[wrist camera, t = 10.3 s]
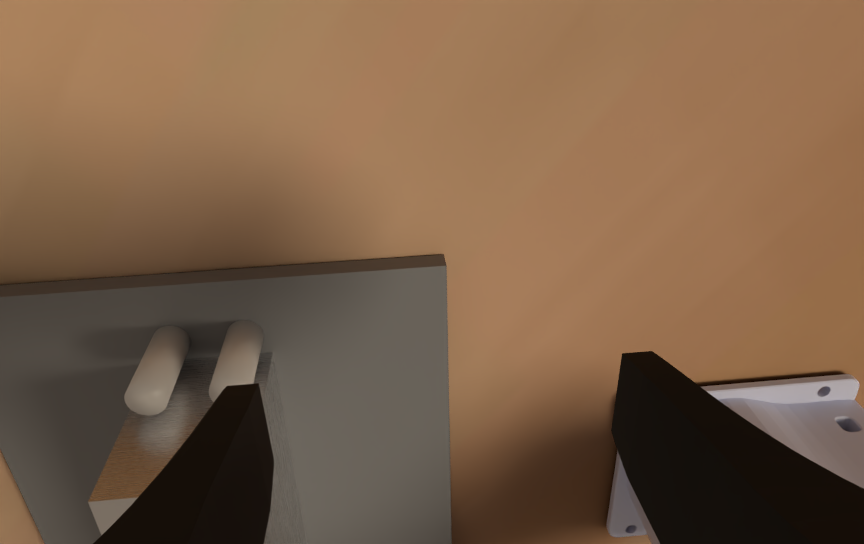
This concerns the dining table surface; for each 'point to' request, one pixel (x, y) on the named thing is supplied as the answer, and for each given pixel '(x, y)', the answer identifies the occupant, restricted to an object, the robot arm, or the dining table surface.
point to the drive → (166, 432)
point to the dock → (238, 358)
